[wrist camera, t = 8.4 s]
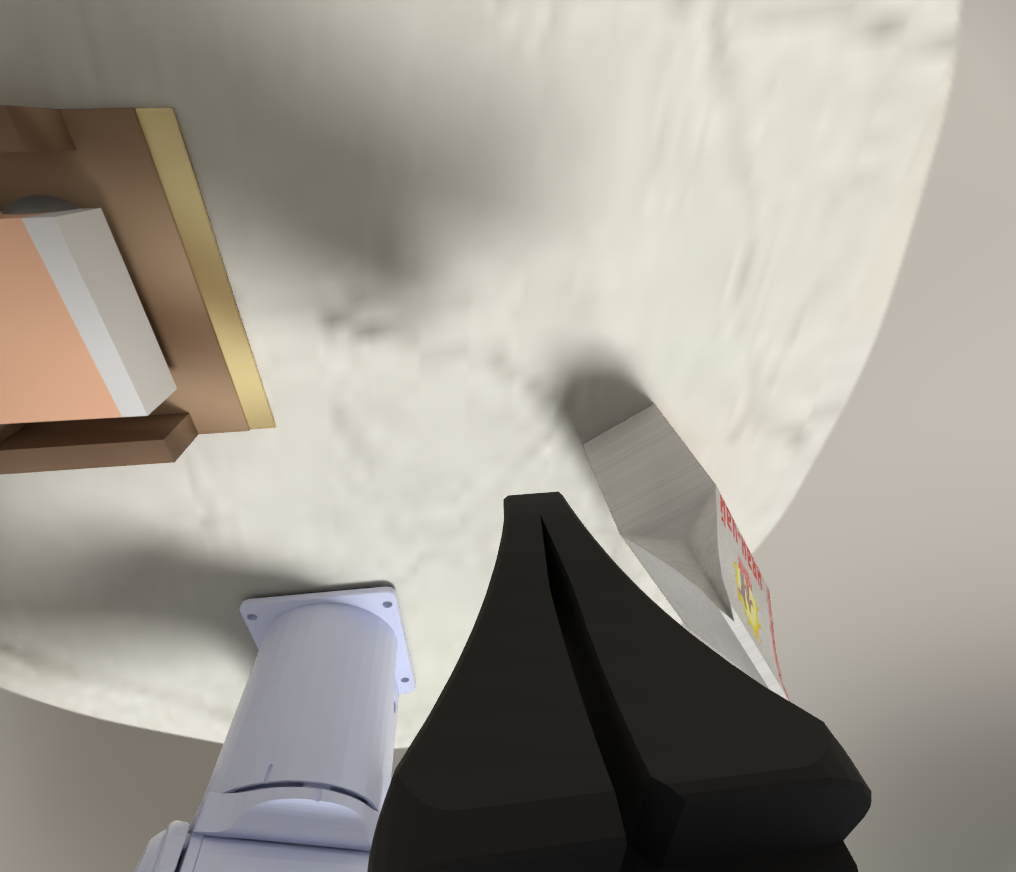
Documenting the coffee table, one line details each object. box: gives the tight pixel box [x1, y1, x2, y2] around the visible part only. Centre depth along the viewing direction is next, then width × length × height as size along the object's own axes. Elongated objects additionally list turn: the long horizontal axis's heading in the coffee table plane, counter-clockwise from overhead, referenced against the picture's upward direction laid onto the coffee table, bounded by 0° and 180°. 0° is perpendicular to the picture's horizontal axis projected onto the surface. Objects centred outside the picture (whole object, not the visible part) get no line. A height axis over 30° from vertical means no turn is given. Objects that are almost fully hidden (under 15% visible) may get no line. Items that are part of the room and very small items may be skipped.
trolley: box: [0, 195, 177, 424], centre depth 15 cm, size 7×6×3 cm
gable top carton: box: [583, 404, 789, 701], centre depth 19 cm, size 4×7×10 cm, turn 33°
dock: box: [0, 106, 276, 474], centre depth 16 cm, size 11×10×2 cm
